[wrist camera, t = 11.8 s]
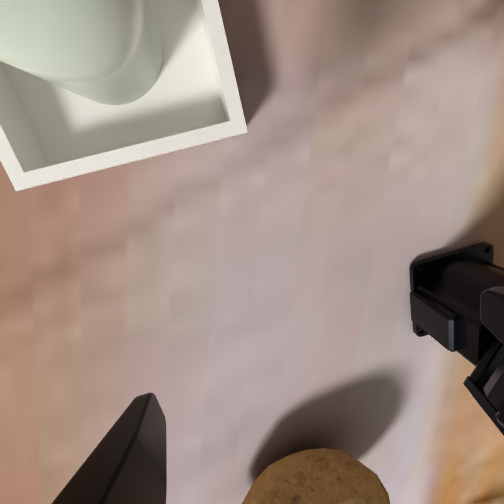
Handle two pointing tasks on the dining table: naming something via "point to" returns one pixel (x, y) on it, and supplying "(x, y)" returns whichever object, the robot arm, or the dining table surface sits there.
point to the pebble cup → (85, 45)
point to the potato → (317, 480)
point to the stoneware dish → (125, 106)
